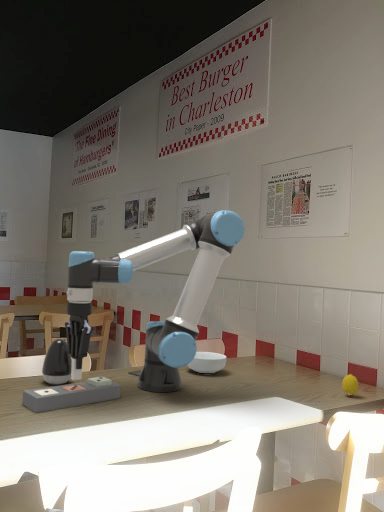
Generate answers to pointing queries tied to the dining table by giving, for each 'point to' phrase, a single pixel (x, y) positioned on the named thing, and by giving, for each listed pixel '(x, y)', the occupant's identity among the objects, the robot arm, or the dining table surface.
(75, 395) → the button panel
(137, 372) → the smartphone
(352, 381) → the lemon
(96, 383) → the button two sage
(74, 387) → the button three terracotta
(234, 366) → the dining table surface
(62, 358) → the black egg-shaped speaker
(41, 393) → the button one cream
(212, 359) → the cereal bowl
